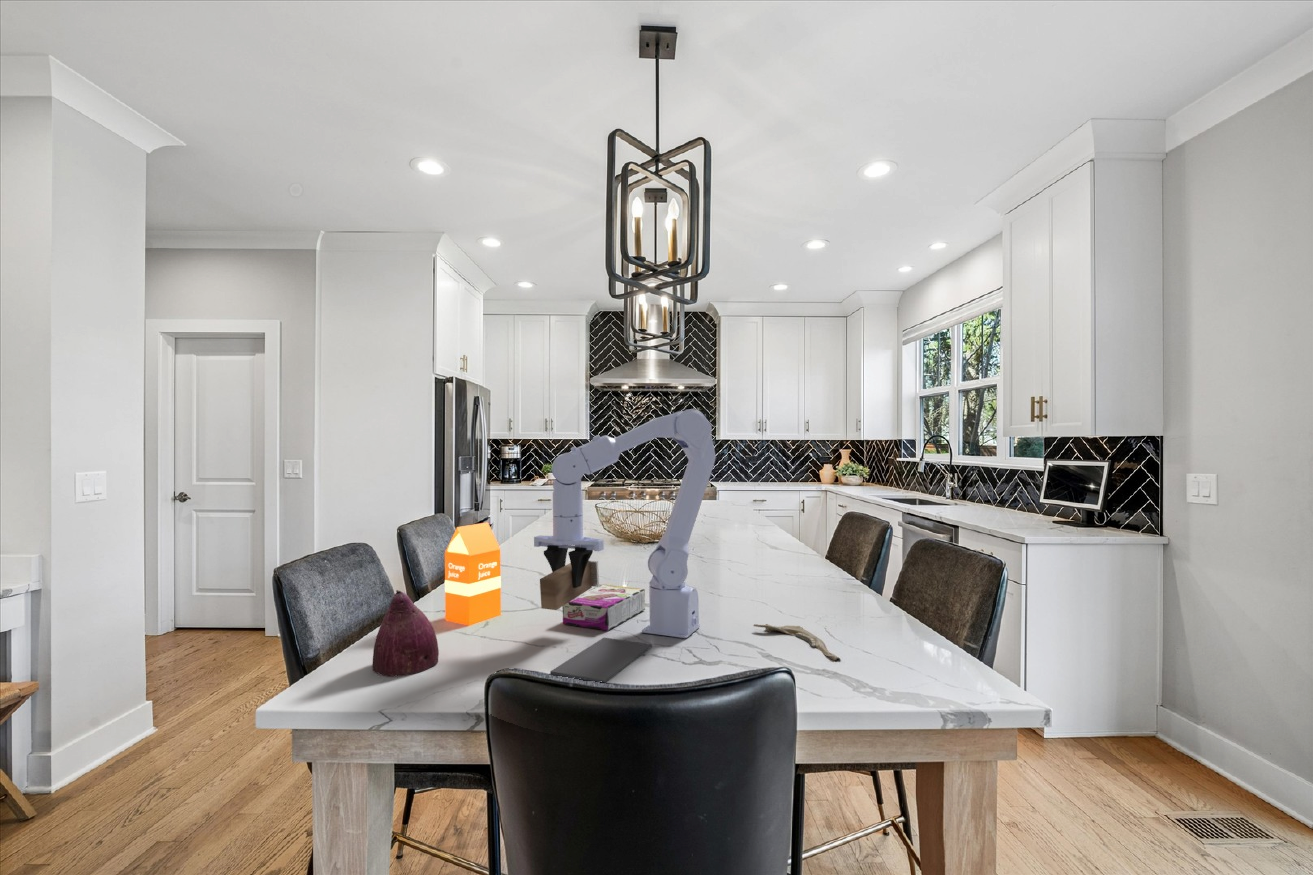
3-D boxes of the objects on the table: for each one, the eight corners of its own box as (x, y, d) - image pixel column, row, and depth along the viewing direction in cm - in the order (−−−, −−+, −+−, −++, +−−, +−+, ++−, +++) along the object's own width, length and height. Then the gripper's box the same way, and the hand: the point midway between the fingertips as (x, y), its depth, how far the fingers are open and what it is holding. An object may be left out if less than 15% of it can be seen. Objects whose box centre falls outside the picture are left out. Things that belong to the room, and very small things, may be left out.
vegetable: (416, 696, 97) (412, 614, 93) (359, 683, 99) (353, 603, 95) (451, 658, 107) (449, 582, 103) (399, 647, 109) (395, 572, 105)
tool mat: (651, 646, 110) (651, 644, 110) (604, 683, 94) (604, 680, 94) (603, 639, 114) (603, 637, 114) (550, 673, 98) (550, 671, 98)
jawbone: (783, 628, 123) (784, 618, 123) (870, 658, 107) (870, 646, 107) (752, 633, 118) (752, 622, 118) (837, 665, 101) (838, 653, 101)
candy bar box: (561, 600, 124) (602, 583, 138) (561, 624, 123) (602, 605, 138) (608, 606, 119) (645, 588, 134) (608, 631, 119) (645, 610, 133)
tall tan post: (562, 610, 108) (561, 581, 108) (535, 607, 111) (533, 578, 110) (599, 587, 121) (597, 560, 120) (573, 584, 123) (572, 558, 123)
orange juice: (444, 620, 127) (443, 526, 128) (477, 609, 135) (476, 521, 135) (469, 625, 123) (469, 528, 123) (501, 614, 131) (501, 523, 131)
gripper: (524, 516, 115) (525, 587, 115) (590, 519, 109) (591, 594, 109) (545, 512, 122) (546, 579, 121) (608, 515, 116) (609, 585, 116)
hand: (568, 585), depth 116 cm, fingers closed on tall tan post, 3 cm apart
